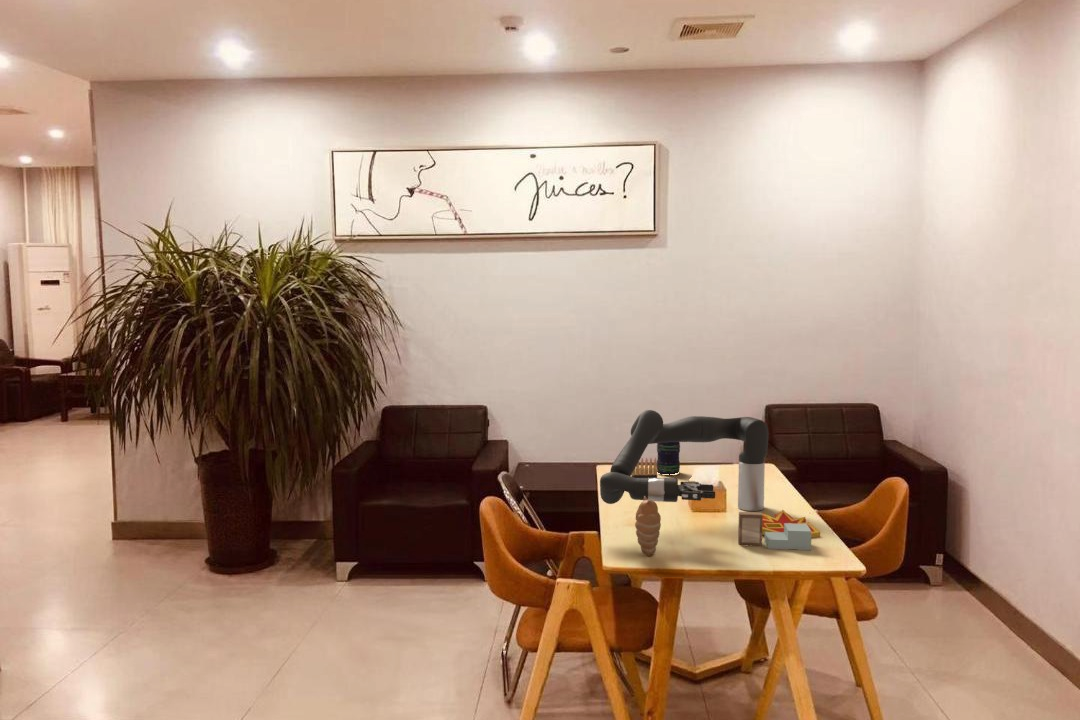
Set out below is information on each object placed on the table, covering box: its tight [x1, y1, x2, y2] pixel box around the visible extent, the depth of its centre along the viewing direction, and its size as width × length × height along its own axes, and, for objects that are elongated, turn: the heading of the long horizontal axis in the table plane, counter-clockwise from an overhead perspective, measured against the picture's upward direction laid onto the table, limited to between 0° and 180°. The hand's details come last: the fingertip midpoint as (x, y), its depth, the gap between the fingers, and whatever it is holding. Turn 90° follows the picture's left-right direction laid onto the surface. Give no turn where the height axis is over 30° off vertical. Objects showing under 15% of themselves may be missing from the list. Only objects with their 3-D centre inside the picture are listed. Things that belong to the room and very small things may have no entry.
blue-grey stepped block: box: [764, 523, 812, 551], centre depth 270 cm, size 8×13×6 cm, turn 83°
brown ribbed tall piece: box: [634, 496, 662, 557], centre depth 260 cm, size 9×8×18 cm
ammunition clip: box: [631, 457, 658, 479], centre depth 345 cm, size 11×2×12 cm, turn 93°
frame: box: [737, 511, 763, 547], centre depth 271 cm, size 3×7×10 cm, turn 83°
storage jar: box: [656, 442, 681, 475], centre depth 368 cm, size 10×10×15 cm
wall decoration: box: [762, 509, 821, 538], centre depth 290 cm, size 22×31×4 cm
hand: (714, 491), depth 271 cm, fingers open, 8 cm apart
